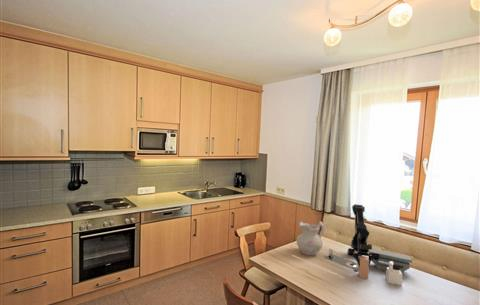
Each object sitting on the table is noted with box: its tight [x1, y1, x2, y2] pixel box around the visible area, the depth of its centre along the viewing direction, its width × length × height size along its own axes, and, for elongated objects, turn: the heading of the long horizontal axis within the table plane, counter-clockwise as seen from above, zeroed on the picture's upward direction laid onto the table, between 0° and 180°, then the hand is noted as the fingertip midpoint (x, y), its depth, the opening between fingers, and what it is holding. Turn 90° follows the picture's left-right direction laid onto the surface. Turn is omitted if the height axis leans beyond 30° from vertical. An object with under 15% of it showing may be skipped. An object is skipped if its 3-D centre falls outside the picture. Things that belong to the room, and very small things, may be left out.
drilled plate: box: [325, 254, 359, 273], centre depth 176 cm, size 11×23×1 cm, turn 42°
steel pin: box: [328, 248, 334, 257], centre depth 184 cm, size 2×2×6 cm
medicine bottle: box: [385, 261, 403, 286], centre depth 154 cm, size 7×7×12 cm
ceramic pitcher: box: [296, 220, 325, 256], centre depth 191 cm, size 22×20×25 cm
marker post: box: [357, 255, 370, 280], centre depth 159 cm, size 5×5×12 cm
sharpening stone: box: [368, 248, 413, 274], centre depth 170 cm, size 25×8×11 cm, turn 63°
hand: (364, 267), depth 157 cm, fingers closed on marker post, 5 cm apart
